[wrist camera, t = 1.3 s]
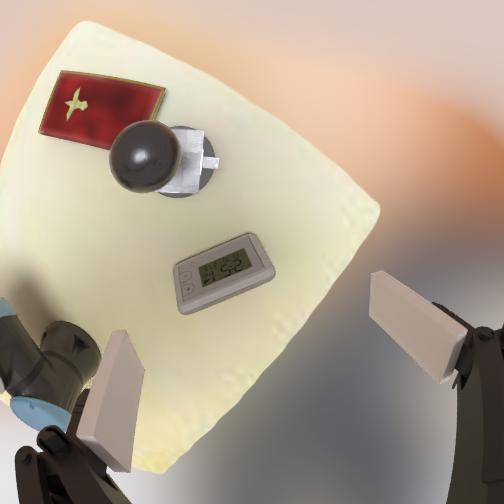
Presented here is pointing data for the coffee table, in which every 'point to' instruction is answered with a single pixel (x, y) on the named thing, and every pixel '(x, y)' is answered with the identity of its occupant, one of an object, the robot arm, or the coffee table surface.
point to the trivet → (205, 172)
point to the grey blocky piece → (190, 162)
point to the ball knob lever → (145, 156)
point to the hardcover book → (97, 107)
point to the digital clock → (221, 273)
